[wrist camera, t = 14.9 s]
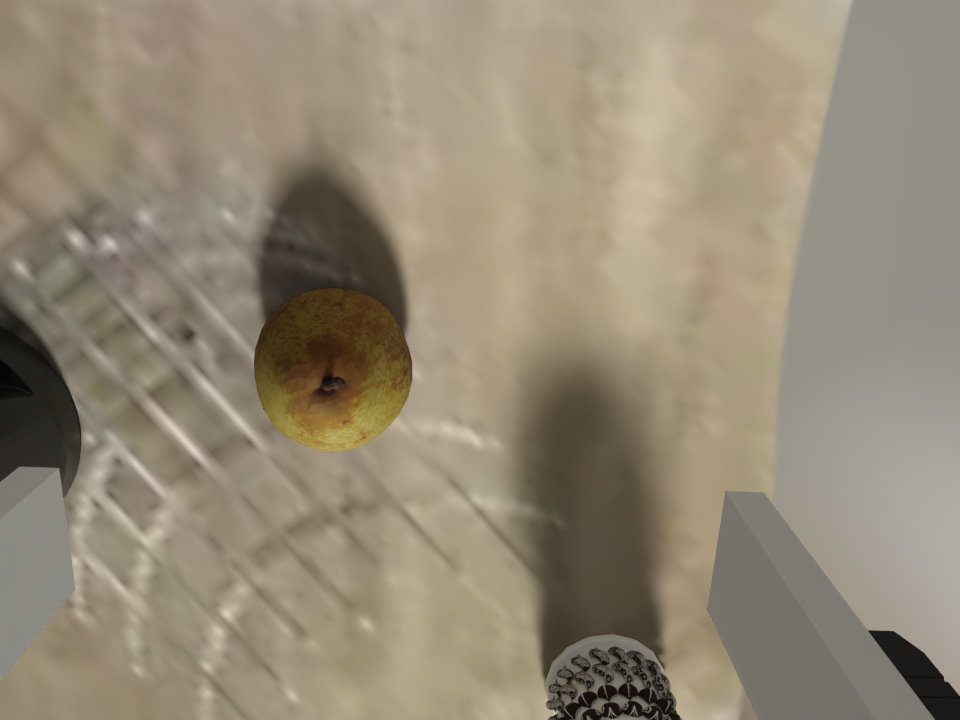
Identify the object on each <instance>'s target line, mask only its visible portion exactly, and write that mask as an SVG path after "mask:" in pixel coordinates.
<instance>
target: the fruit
mask: <svg viewBox="0 0 960 720" xmlns="http://www.w3.org/2000/svg"><path fill="white" fill-rule="evenodd" d="M254 371H255V380H256V385H257V391H258V395H259V398H260V401H261V403H262V406H263V409H264V411H265V412H266V414H267V415H268V417H269V418H270V420H271V421H272V423H273V424H274V425H275V426H276V427H277V428H278V429H279V430H280V431H281V432H282V433H283V434H285V435H287V436H288V437H290V438H291V439H293V440H295V441H296V442H298V443H301V444H303V445H305V446H308V447H311V448H315V449H318V450H324V451H334V452H337V451H343V450H349V449H354V448H356V447H359V446H361V445H364V444H366V443H368V442H369V441H371V440H372V439H374V438H375V437H377V436H378V435H379V434H381V433H382V432H383V431H384V430H385V429H386V428H387V427H388V426H389V425H390V424H391V423H392V422H393V421H394V420H395V418H396V417H397V416H398V415H399V413H400V412H401V410H402V408H403V406H404V404H405V402H406V400H407V398H408V395H409V391H410V387H411V383H412V359H411V355H410V352H409V348H408V345H407V342H406V340H405V337H404V335H403V333H402V331H401V329H400V327H399V325H398V323H397V321H396V320H395V318H394V317H393V316H392V314H391V313H390V312H389V310H388V309H387V308H386V307H384V306H383V305H382V304H381V303H380V302H379V301H377V300H376V299H375V298H373V297H371V296H369V295H367V294H364V293H362V292H359V291H354V290H350V289H345V288H322V289H315V290H311V291H307V292H302V293H299V294H297V295H295V296H293V297H292V298H290V299H288V300H286V301H284V302H283V303H282V304H281V305H280V306H279V308H278V309H277V310H276V311H275V312H274V313H273V314H272V315H271V316H270V317H269V318H268V320H267V322H266V323H265V325H264V326H263V328H262V330H261V333H260V336H259V339H258V343H257V345H256V348H255V358H254Z"/></svg>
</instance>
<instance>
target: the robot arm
mask: <svg viewBox="0 0 960 720" xmlns="http://www.w3.org/2000/svg"><path fill="white" fill-rule="evenodd" d="M80 452H81V438H80V429H79V423H78V419H77V415H76V412H75V409H74V406H73V404H72V401H71V399H70V397H69V395H68V393H67V391H66V389H65V387H64V386H63V384H62V382H61V381H60V379H59V378H58V376H57V375H56V374H55V372H54V371H53V370H52V368H51V367H50V366H49V365H48V364H47V363H46V361H45V360H44V359H43V358H42V357H41V356H40V355H39V354H38V353H37V352H36V351H34V350H33V349H32V348H31V347H30V346H29V345H27V344H26V343H25V342H23V341H22V340H21V339H19V338H18V337H16V336H15V335H13V334H12V333H10V332H8V331H7V330H5V329H3V328H1V327H0V680H1V679H2V678H3V677H4V675H5V674H6V673H7V672H8V670H9V669H10V668H11V667H12V666H13V664H14V663H15V662H16V661H17V660H18V658H19V657H20V656H21V655H22V654H23V652H24V651H25V650H26V649H27V647H28V646H29V645H30V644H31V643H32V641H33V640H34V639H35V638H36V637H37V635H38V634H39V633H40V632H41V631H42V629H43V628H44V627H45V626H46V625H47V623H48V622H49V621H50V620H51V618H52V617H53V616H54V615H55V614H56V612H57V611H58V610H59V609H60V608H61V606H62V605H63V604H64V603H65V602H66V600H67V599H68V598H69V597H70V595H71V594H72V593H73V592H74V591H75V583H74V575H73V568H72V561H71V553H70V546H69V538H68V531H67V523H66V516H65V508H64V501H63V498H64V496H65V495H66V494H67V492H68V490H69V489H70V487H71V485H72V483H73V481H74V478H75V476H76V473H77V469H78V465H79V460H80ZM707 610H708V612H709V614H710V616H711V618H712V621H713V623H714V625H715V627H716V629H717V631H718V634H719V636H720V638H721V640H722V642H723V644H724V646H725V649H726V651H727V653H728V655H729V657H730V659H731V661H732V664H733V666H734V668H735V670H736V672H737V674H738V676H739V679H740V681H741V683H742V685H743V687H744V689H745V691H746V694H747V696H748V698H749V700H750V702H751V704H752V707H753V709H754V711H755V713H756V715H757V717H758V719H759V720H960V696H959V695H958V694H957V692H956V691H955V690H954V689H953V688H952V686H951V685H950V684H949V683H948V682H945V681H944V677H943V675H942V674H941V673H940V672H939V671H938V669H937V668H936V667H935V666H934V665H933V663H932V662H931V661H930V660H929V658H928V657H927V656H926V655H925V654H924V653H923V652H922V651H920V650H919V649H918V648H916V647H915V646H914V645H912V644H911V643H909V642H908V641H907V640H905V639H904V638H902V637H901V636H900V635H898V634H897V633H895V632H894V631H868V630H867V629H866V628H865V626H864V625H863V624H862V622H861V621H860V620H859V618H858V617H857V616H856V614H855V613H854V612H853V610H852V609H851V608H850V606H849V605H848V604H847V602H846V601H845V600H844V598H843V597H842V596H841V595H840V593H839V592H838V591H837V589H836V588H835V587H834V585H833V584H832V583H831V581H830V580H829V579H828V577H827V576H826V575H825V574H824V572H823V571H822V569H821V568H820V567H819V565H818V564H817V563H816V561H815V560H814V559H813V557H812V556H811V555H810V553H809V552H808V551H807V549H806V548H805V547H804V545H803V544H802V543H801V541H800V540H799V539H798V538H797V536H796V535H795V534H794V532H793V531H792V530H791V528H790V527H789V525H788V524H787V523H786V522H785V520H784V519H783V518H782V516H781V515H780V514H779V512H778V511H777V510H776V508H775V507H774V506H773V504H772V503H771V502H770V500H769V499H768V498H767V496H766V495H765V494H764V493H762V492H734V491H725V498H724V504H723V511H722V517H721V524H720V530H719V537H718V543H717V550H716V556H715V563H714V569H713V576H712V583H711V589H710V596H709V602H708V609H707Z"/></svg>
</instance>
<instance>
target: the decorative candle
mask: <svg viewBox="0 0 960 720" xmlns="http://www.w3.org/2000/svg"><path fill="white" fill-rule="evenodd" d="M545 683H546V691H547V699H548V701H547V703H546V706H547V708H548V709H550V710H553V712H554V713H555V716H551V717H550V718H549V719H548V720H682V719H681V718H680V716H679V715H678V714H677V712H676V710H675V707H676V700H675V697H674V696H673V694H672V693H671V692H670V683H669V681H668V679H667V678H666V676H665V675H664V669H663V667H662V666H661V664H660V662H659V661H658V659H657V657H656V656H655V654H654V652H653V651H652V650H650V649H649V648H647V647H646V646H644V645H643V644H641V643H640V642H639V641H637V640H636V639H632V638H628V637H624V636H619V635H615V634H607V635H598V636H589V637H586V638H584V639H582V640H580V641H578V642H576V643H574V644H572V645H570V646H567V647H566V648H565V649H564V651H563V652H562V653H561V654H560V655H559V656H558V657H557V658H556V659H555V660H554V661H553V662H552V664H551V667H550V670H549V672H548V675H547V678H546V681H545Z"/></svg>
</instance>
